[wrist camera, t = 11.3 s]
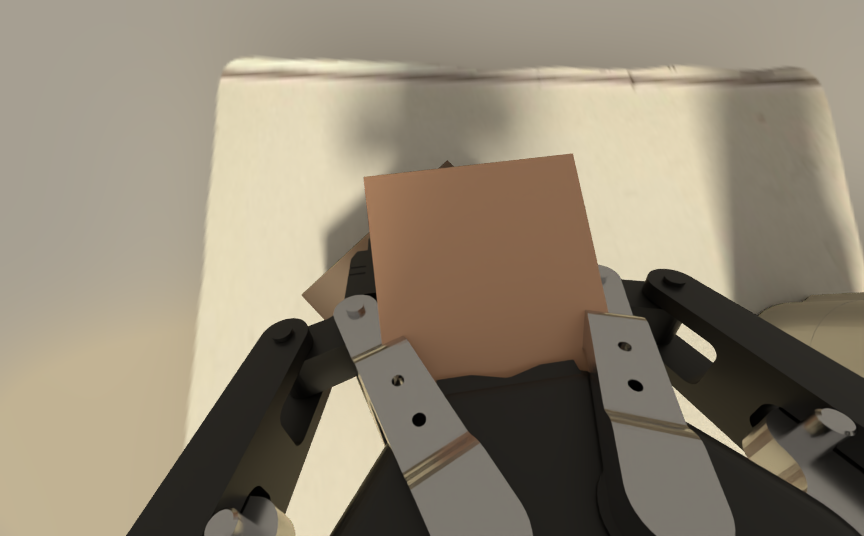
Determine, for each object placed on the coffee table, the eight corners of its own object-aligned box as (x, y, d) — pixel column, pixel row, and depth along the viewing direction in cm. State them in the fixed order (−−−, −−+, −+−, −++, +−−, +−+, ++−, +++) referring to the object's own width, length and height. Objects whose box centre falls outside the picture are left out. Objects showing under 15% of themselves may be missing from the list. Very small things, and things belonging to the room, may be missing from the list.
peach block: (488, 244, 18) (572, 153, 8) (505, 338, 17) (621, 368, 7) (396, 256, 18) (363, 177, 8) (407, 353, 17) (388, 404, 7)
